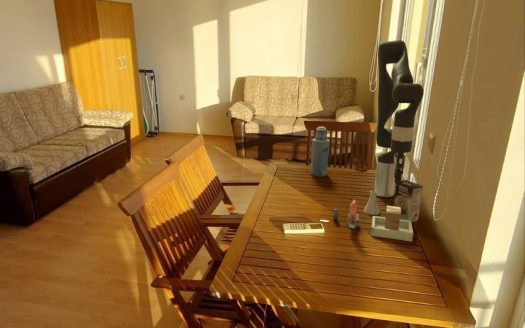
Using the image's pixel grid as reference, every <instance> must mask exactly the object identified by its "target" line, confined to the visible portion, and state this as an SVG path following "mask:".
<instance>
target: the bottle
mask: <svg viewBox="0 0 525 328" xmlns="http://www.w3.org/2000/svg"><path fill="white" fill-rule="evenodd" d="M327 132H328V131H327V128H326V127H325V126H318V127H316V129H315V137H314V138H312V140H311V157H310V160H311V161H310V175H312V176H314V177H319V178H320V177H326V176H327V175H328V169H329V165H328V164H329V152H330V140H329V139H328V136H327Z"/></svg>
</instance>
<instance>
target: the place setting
mask: <svg viewBox="0 0 525 328" xmlns="http://www.w3.org/2000/svg"><path fill="white" fill-rule="evenodd" d="M353 163H355V164H356V163H359V158H353ZM354 170H355V171H357V170H360V171H359V172H366V171H367V167H366V166H364V165H355V166H354Z"/></svg>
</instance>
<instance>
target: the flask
mask: <svg viewBox="0 0 525 328" xmlns="http://www.w3.org/2000/svg"><path fill="white" fill-rule="evenodd" d="M369 193H370V196H369V199H368V201H367V203H366V205H365V207H364V209H363V212H364V213H365V214H366V215H371V216H379V215H380V213H381V211H380V207H379V204H378V199H377V191H374V190H370V191H369Z"/></svg>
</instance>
